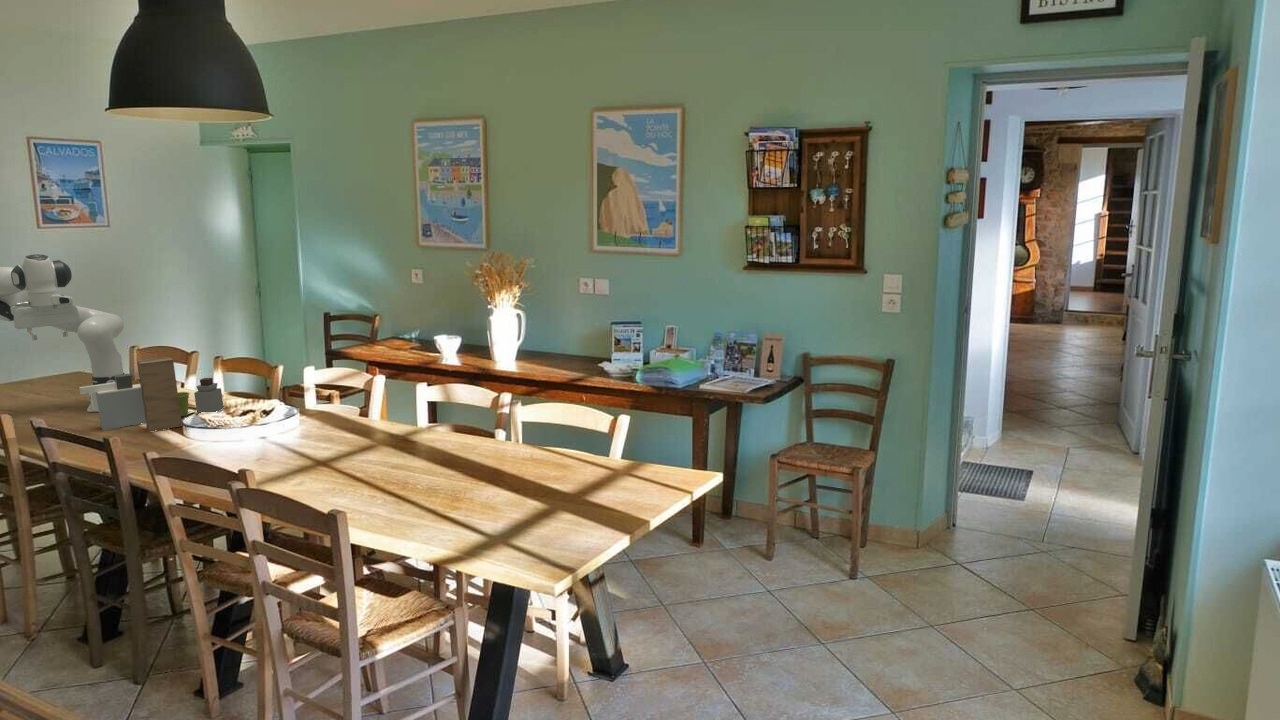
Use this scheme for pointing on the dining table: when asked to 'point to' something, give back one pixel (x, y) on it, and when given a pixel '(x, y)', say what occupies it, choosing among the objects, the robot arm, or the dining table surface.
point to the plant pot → (183, 402)
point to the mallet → (109, 385)
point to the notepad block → (120, 407)
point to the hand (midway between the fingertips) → (50, 338)
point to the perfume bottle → (208, 396)
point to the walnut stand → (159, 393)
